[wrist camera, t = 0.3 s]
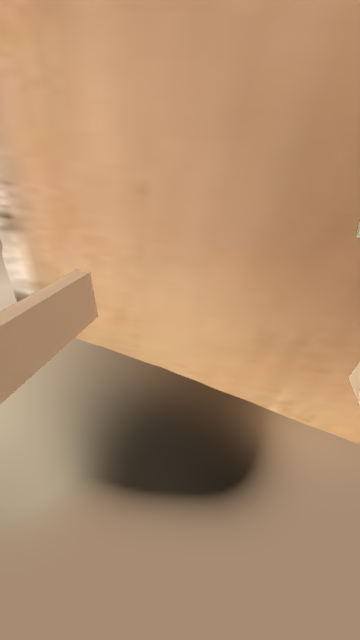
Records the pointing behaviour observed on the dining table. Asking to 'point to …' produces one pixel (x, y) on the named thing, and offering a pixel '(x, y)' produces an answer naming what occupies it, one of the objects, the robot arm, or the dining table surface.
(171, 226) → the dining table surface
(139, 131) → the dining table surface
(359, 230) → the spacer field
